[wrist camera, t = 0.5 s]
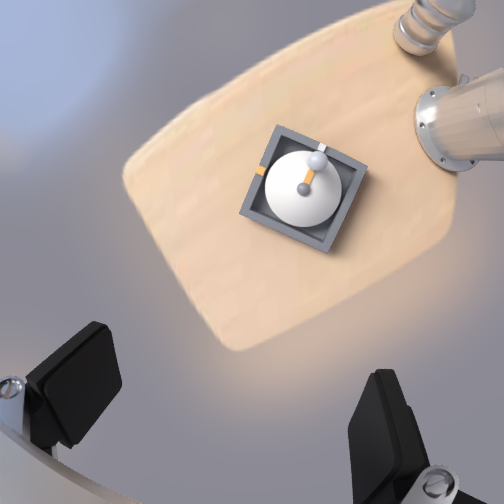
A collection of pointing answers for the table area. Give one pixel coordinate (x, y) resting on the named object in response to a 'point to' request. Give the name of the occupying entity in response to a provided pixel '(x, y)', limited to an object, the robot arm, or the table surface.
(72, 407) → the robot arm
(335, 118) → the table surface
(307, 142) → the housing
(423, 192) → the table surface
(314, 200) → the white crank wheel
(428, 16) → the plastic bottle
